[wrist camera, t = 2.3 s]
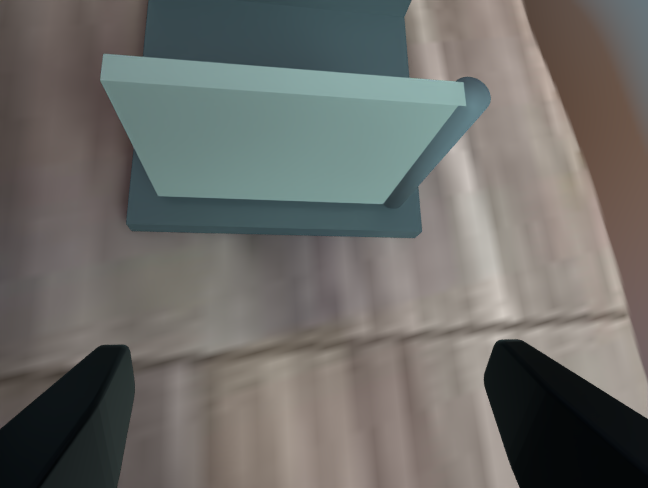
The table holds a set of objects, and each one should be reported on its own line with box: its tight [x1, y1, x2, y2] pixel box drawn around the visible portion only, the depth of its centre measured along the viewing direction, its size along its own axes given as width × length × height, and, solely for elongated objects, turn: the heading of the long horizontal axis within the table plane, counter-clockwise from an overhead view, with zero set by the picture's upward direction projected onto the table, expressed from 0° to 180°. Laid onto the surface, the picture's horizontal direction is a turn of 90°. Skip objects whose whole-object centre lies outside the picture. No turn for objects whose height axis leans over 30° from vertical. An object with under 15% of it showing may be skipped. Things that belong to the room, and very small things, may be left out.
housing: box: [126, 0, 422, 238], centre depth 21 cm, size 13×13×4 cm
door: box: [100, 54, 491, 209], centre depth 17 cm, size 1×11×8 cm, turn 91°
